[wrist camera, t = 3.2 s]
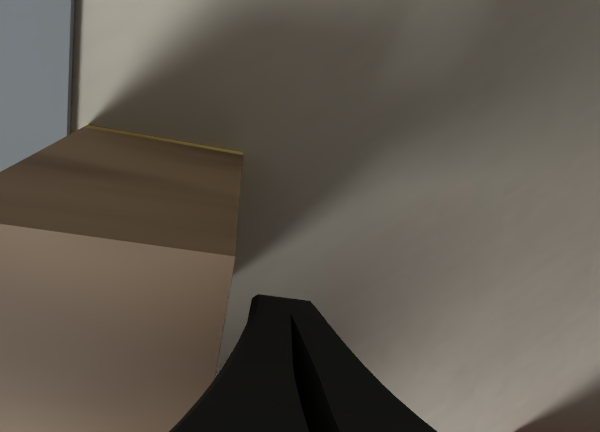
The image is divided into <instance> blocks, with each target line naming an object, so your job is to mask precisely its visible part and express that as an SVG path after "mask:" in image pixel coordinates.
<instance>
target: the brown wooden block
mask: <svg viewBox="0 0 600 432" xmlns="http://www.w3.org/2000/svg"><path fill="white" fill-rule="evenodd" d="M242 162H243V152H239V151H233V150H228V149H222V148H216V147H211V146H205V145H199V144H193V143H188V142H182V141H176V140H171V139H165V138H159V137H154V136H148V135H142V134H137V133H131V132H125V131H119V130H114V129H108V128H102V127H97V126H91V125H86V126H85V127H83V128H81V129H79V130H77V131H75V132H73V133H72V134H70V135H68V136H66V137H64V138H62V139H60V140H59V141H57V142H55V143H53V144H51V145H49V146H47V147H46V148H44V149H42V150H40V151H38V152H36V153H34V154H33V155H31V156H29V157H27V158H25V159H23V160H21V161H20V162H18V163H16V164H14V165H12V166H10V167H8V168H7V169H5V170H3V171H1V172H0V432H169V431H170V430H171V429H172V428H173V427H174V426H175V425H176V424H177V423H178V422H179V421H180V420H181V419H182V418H183V417H184V416H185V414H186V413H187V412H188V411H189V410H190V409H191V408H192V406H193V405H194V404H195V403H196V402H197V401H198V400H199V398H200V397H201V396H202V395H203V394H204V392H205V391H206V390H207V388H208V387H209V386H210V385H211V383H212V382H213V381H214V379H215V373H216V368H217V362H218V356H219V350H220V344H221V338H222V333H223V327H224V321H225V315H226V309H227V303H228V298H229V292H230V286H231V280H232V274H233V268H234V263H235V257H236V243H237V230H238V216H239V203H240V189H241V176H242Z"/></svg>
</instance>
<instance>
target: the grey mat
mask: <svg viewBox="0 0 600 432" xmlns="http://www.w3.org/2000/svg"><path fill="white" fill-rule="evenodd" d="M74 5H75V0H0V172H1V171H3V170H5V169H7V168H8V167H10V166H12V165H14V164H16V163H18V162H20V161H21V160H23V159H25V158H27V157H29V156H31V155H33V154H34V153H36V152H38V151H40V150H42V149H44V148H46V147H47V146H49V145H51V144H53V143H55V142H57V141H59V140H60V139H62V138H64V137H66V136H68V135H70V122H71V93H72V64H73V35H74Z"/></svg>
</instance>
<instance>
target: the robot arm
mask: <svg viewBox="0 0 600 432" xmlns="http://www.w3.org/2000/svg"><path fill="white" fill-rule="evenodd" d="M169 432H437V431H436V430H434V429H433V428H432V427H431V426H429V425H428V424H427V423H426V422H424V421H423V420H422V419H421V418H419V417H418V416H417V415H416V414H415V413H414V412H412V411H411V410H410V409H409V408H408V407H407V406H406V405H404V404H403V403H402V402H401V401H400V400H399V399H398V398H396V397H395V396H394V395H393V394H392V393H391V392H390V391H389V390H388V389H387V388H386V387H385V386H384V385H383V384H382V383H381V382H380V381H379V380H378V379H377V378H376V377H375V376H374V375H373V374H372V373H371V372H370V371H369V370H368V369H367V368H366V367H365V366H364V365H363V364H362V363H361V362H360V360H359V359H358V358H357V357H356V356H355V355H354V354H353V353H352V351H351V350H350V349H349V348H348V347H347V346H346V344H345V343H344V342H343V341H342V340H341V339H340V337H339V336H338V335H337V334H336V332H335V331H334V330H333V329H332V327H331V326H330V325H329V324H328V322H327V321H326V320H325V319H324V317H323V316H322V315H321V314H320V312H319V311H318V310H317V308H316V307H315V306H314V305H313V304H312V302H311V301H305V300H297V299H290V298H282V297H274V296H267V295H259V294H258V295H256V296H255V297H253V298H252V301H251V306H250V312H249V317H248V322H247V324H246V327H245V329H244V331H243V333H242V335H241V337H240V339H239V341H238V343H237V345H236V347H235V348H234V350H233V352H232V353H231V355H230V356H229V358H228V360H227V361H226V363H225V365H224V366H223V368H222V369H221V371H220V372H219V374H218V375H217V376H216V378H215V379H214V381H213V382H212V383H211V385H210V386H209V387H208V388H207V390H206V391H205V392H204V394H203V395H202V396H201V397H200V398H199V400H198V401H197V402H196V403H195V404H194V405H193V406H192V408H191V409H190V410H189V411H188V412H187V413H186V414H185V416H184V417H183V418H182V419H181V420H180V421H179V422H178V423H177V424H176V425H175V426H174V427H173V428H172V429H171V430H170V431H169Z"/></svg>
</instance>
